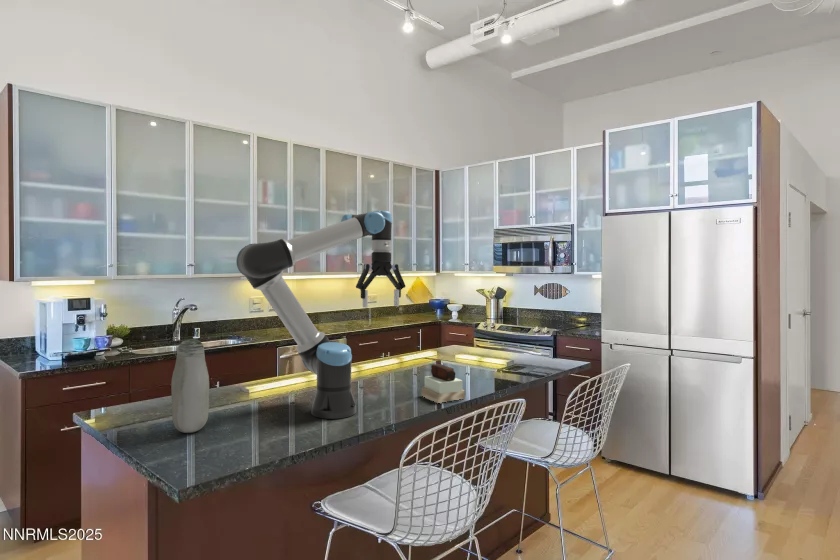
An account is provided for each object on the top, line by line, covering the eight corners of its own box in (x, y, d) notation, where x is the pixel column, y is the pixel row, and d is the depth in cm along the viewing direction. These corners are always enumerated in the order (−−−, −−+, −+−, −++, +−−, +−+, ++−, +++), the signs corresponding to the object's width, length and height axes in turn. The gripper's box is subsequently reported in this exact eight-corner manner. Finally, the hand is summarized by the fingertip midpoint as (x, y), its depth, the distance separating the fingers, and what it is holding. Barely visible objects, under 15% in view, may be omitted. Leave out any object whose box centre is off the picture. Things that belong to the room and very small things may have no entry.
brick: (430, 376, 203) (430, 364, 203) (438, 375, 205) (439, 363, 205) (447, 381, 194) (447, 369, 194) (455, 380, 196) (455, 368, 196)
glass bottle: (202, 436, 153) (201, 342, 152) (166, 436, 152) (165, 341, 151) (213, 426, 163) (213, 337, 162) (180, 426, 162) (179, 337, 161)
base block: (438, 405, 191) (438, 394, 191) (421, 397, 202) (421, 387, 202) (464, 400, 198) (464, 390, 197) (447, 393, 208) (447, 383, 208)
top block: (439, 393, 192) (439, 383, 192) (424, 386, 203) (424, 376, 203) (462, 391, 197) (462, 380, 196) (446, 384, 207) (446, 374, 207)
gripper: (355, 250, 189) (355, 308, 190) (414, 252, 202) (413, 306, 203) (347, 251, 196) (347, 307, 197) (404, 252, 209) (404, 304, 210)
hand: (381, 306), depth 200 cm, fingers open, 13 cm apart
